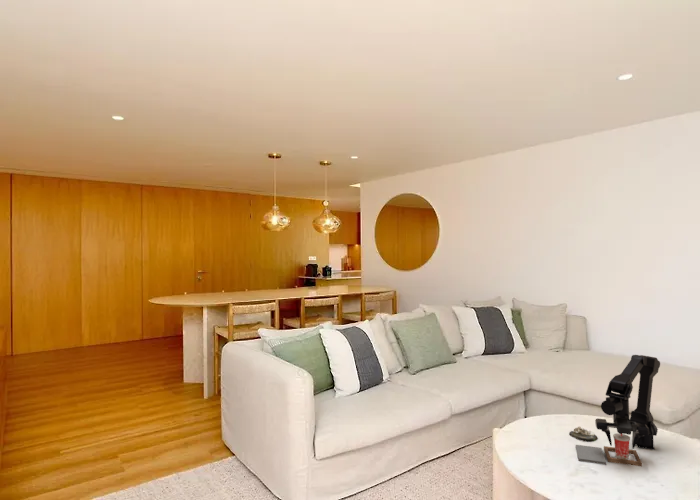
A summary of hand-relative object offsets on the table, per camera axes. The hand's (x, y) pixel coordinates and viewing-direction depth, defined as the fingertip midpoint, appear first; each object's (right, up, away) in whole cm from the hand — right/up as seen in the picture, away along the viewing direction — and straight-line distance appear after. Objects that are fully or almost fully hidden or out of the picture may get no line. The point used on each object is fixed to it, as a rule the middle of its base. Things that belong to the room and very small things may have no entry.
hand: (621, 446), depth 186 cm
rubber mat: (-12, -5, +3) cm, 13 cm away
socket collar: (0, -5, 0) cm, 4 cm away
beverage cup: (0, -5, 0) cm, 5 cm away
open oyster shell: (-5, -5, +21) cm, 22 cm away
